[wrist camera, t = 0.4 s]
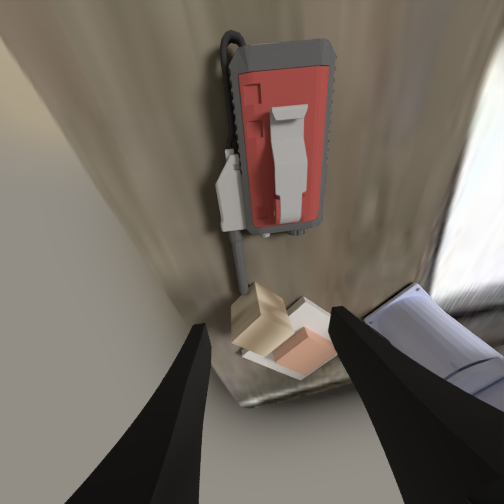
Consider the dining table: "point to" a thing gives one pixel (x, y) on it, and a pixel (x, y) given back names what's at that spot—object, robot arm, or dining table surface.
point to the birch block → (259, 321)
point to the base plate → (297, 321)
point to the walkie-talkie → (274, 139)
